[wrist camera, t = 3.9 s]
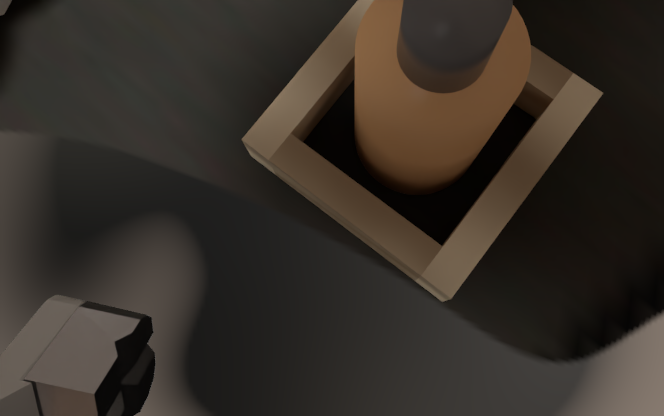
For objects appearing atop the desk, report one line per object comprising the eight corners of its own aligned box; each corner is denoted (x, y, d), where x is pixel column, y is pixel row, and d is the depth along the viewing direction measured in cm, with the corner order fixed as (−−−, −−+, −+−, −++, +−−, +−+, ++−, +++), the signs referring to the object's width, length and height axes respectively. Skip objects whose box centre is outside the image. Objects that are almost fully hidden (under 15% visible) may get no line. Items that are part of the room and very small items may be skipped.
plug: (429, 219, 22) (483, 137, 13) (329, 146, 23) (313, 18, 14) (502, 124, 23) (603, -20, 14) (403, 55, 24) (435, -127, 14)
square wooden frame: (442, 302, 22) (451, 298, 20) (251, 156, 23) (241, 139, 21) (581, 113, 23) (603, 92, 21) (392, -15, 24) (395, -46, 22)
